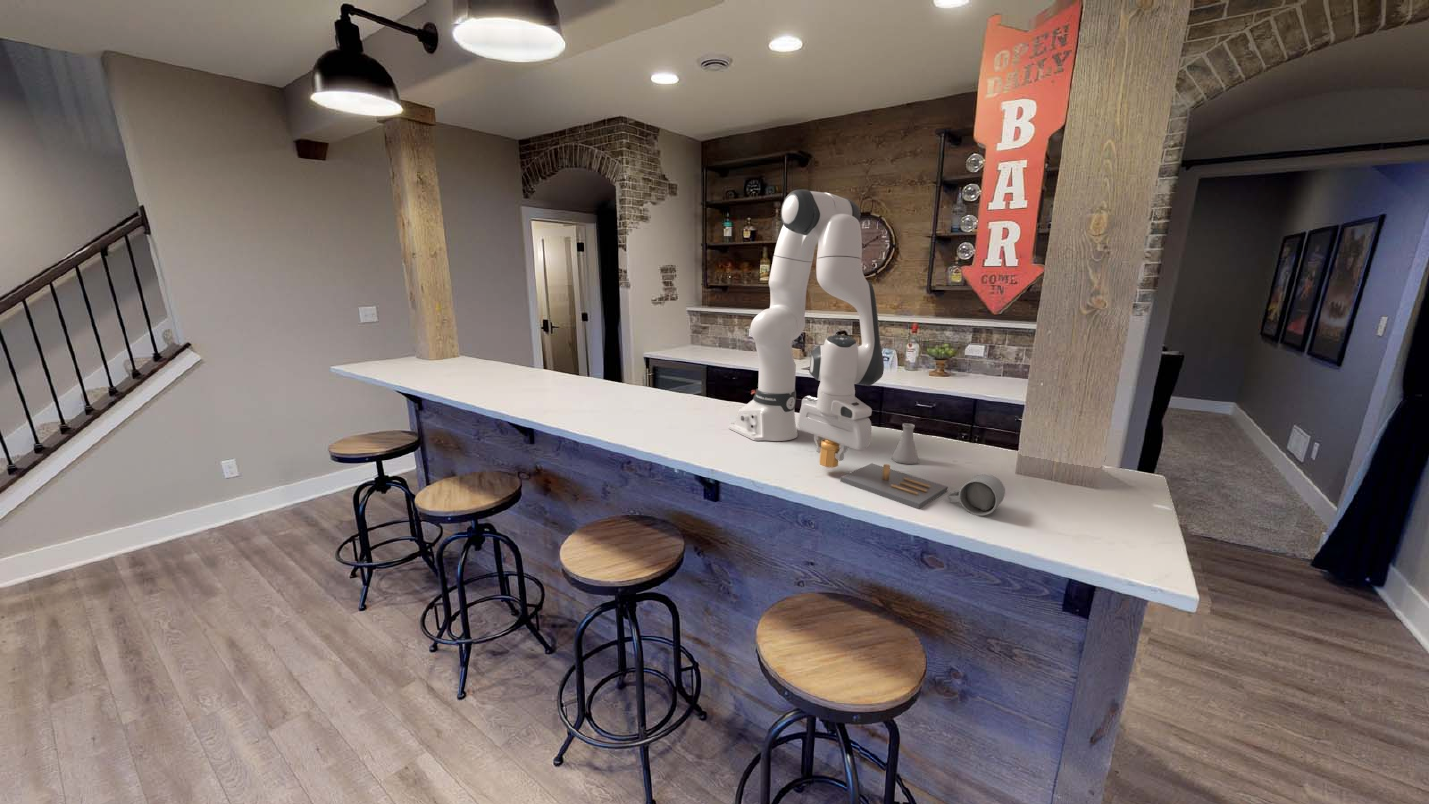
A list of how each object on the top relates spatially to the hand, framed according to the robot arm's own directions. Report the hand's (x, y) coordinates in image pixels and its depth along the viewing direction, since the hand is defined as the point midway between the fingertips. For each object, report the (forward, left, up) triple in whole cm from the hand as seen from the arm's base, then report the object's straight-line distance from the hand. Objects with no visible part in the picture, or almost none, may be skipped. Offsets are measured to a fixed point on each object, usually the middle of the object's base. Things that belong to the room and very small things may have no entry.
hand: (829, 456), depth 133 cm
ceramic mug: (+33, +7, -5) cm, 34 cm away
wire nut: (0, 0, -2) cm, 2 cm away
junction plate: (+15, +5, -5) cm, 17 cm away
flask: (+8, +24, -5) cm, 25 cm away
